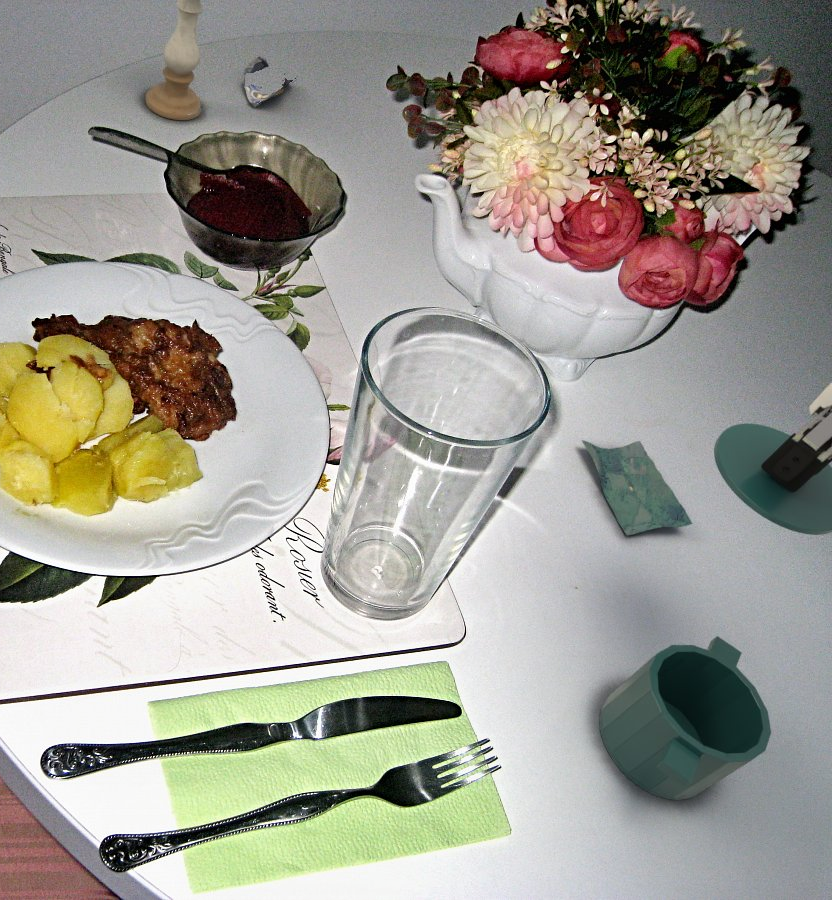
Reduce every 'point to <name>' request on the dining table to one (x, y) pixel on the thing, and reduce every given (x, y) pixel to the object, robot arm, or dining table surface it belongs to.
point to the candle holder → (179, 68)
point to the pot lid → (772, 480)
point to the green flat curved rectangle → (636, 489)
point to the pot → (685, 720)
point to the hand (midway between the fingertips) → (789, 469)
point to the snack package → (257, 93)
